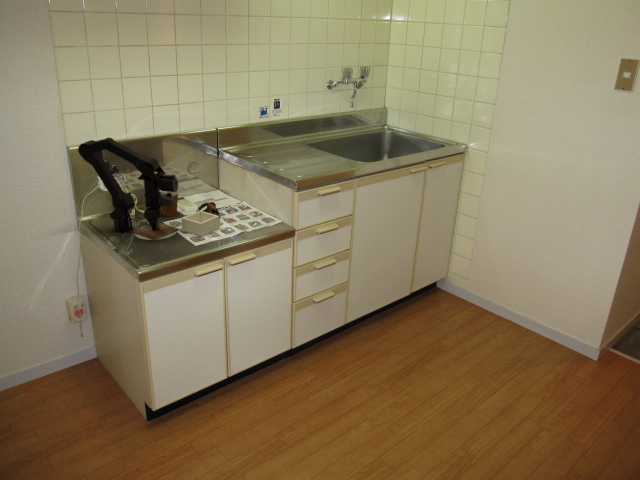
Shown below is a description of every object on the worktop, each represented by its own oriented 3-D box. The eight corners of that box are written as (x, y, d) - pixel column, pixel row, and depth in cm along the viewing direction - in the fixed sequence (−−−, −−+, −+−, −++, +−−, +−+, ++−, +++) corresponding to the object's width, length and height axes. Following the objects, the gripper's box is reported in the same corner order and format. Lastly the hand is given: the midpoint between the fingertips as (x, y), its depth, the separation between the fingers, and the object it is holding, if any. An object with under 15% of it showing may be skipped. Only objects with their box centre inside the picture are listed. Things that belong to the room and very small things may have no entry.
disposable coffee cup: (161, 219, 240) (159, 193, 235) (156, 212, 248) (154, 187, 243) (182, 216, 244) (181, 191, 239) (177, 209, 252) (175, 185, 247)
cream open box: (201, 237, 223) (200, 223, 221) (182, 231, 229) (181, 217, 226) (219, 229, 232) (219, 216, 230) (200, 223, 237) (200, 210, 235)
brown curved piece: (219, 223, 239) (209, 209, 235) (201, 230, 242) (191, 216, 238) (225, 208, 249) (215, 194, 244) (208, 214, 252) (198, 201, 247)
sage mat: (154, 244, 216) (154, 243, 216) (125, 234, 224) (125, 233, 224) (185, 231, 229) (185, 229, 229) (157, 222, 237) (157, 221, 237)
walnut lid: (154, 240, 218) (153, 228, 216) (132, 232, 224) (131, 220, 222) (178, 230, 228) (177, 218, 226) (157, 223, 235) (156, 211, 232)
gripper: (172, 196, 212) (174, 233, 219) (173, 182, 229) (175, 216, 235) (142, 197, 210) (146, 235, 216) (145, 183, 227) (148, 218, 233)
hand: (155, 225), depth 225 cm, fingers open, 9 cm apart
